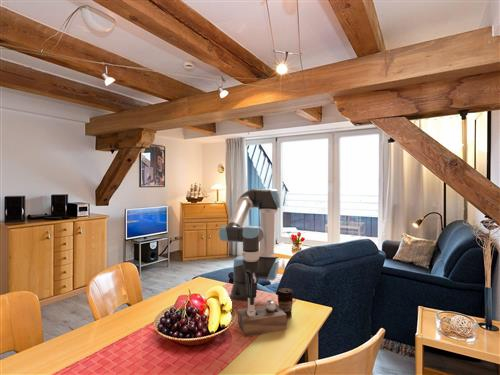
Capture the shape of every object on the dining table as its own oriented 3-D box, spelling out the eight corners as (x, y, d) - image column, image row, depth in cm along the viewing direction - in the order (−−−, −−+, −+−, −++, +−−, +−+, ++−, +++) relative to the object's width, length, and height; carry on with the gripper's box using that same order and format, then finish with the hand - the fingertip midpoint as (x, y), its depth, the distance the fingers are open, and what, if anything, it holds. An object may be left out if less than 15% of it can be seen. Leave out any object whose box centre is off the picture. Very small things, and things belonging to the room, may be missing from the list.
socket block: (237, 323, 133) (237, 309, 133) (276, 317, 139) (276, 303, 138) (244, 337, 121) (244, 321, 121) (286, 329, 127) (286, 314, 127)
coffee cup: (294, 319, 136) (294, 293, 136) (277, 319, 136) (277, 293, 136) (292, 311, 145) (292, 286, 145) (276, 311, 145) (276, 286, 145)
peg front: (245, 322, 130) (245, 309, 130) (254, 321, 131) (254, 308, 131) (248, 326, 126) (248, 313, 126) (256, 325, 127) (256, 312, 127)
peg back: (266, 313, 133) (265, 300, 133) (273, 312, 134) (273, 299, 134) (269, 317, 129) (268, 304, 129) (277, 315, 130) (276, 303, 130)
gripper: (239, 256, 133) (239, 305, 133) (247, 264, 121) (247, 318, 121) (254, 255, 135) (254, 303, 135) (263, 262, 123) (263, 315, 123)
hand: (251, 310), depth 128 cm, fingers closed
